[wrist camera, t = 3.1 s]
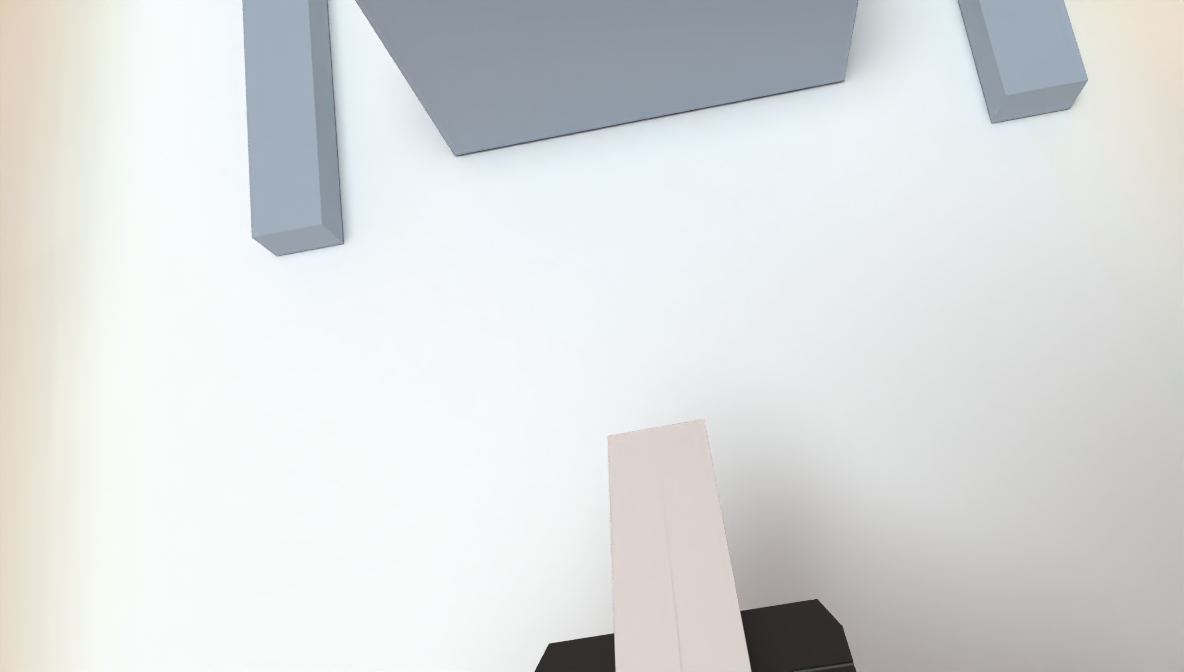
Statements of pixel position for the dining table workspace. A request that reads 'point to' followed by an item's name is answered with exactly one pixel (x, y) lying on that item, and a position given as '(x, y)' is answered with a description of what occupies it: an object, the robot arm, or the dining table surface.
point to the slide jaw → (601, 59)
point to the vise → (307, 119)
